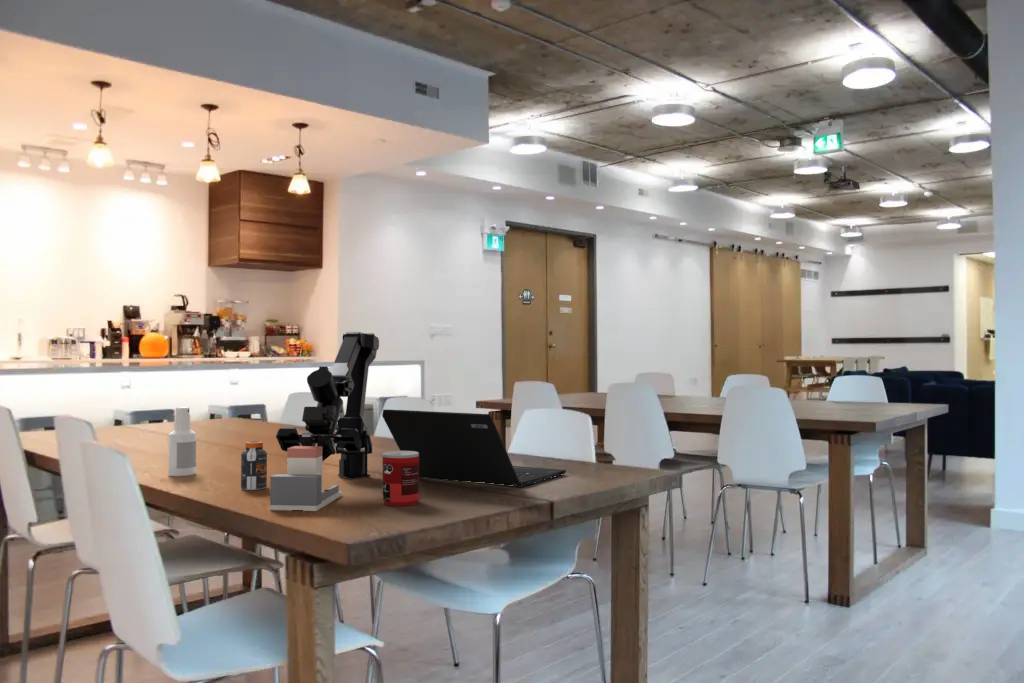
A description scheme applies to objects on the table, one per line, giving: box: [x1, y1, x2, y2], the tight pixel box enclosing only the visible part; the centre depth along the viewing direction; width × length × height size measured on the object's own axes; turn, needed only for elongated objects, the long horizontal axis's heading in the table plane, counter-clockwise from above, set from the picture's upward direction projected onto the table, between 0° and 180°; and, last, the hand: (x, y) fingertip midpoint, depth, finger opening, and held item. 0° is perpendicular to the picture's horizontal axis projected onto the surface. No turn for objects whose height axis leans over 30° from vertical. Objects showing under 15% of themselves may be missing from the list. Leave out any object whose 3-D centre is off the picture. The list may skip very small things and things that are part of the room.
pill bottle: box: [240, 440, 268, 491], centre depth 191 cm, size 6×6×11 cm
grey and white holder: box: [269, 473, 343, 512], centre depth 174 cm, size 17×10×7 cm, turn 175°
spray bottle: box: [167, 406, 197, 478], centre depth 211 cm, size 7×7×18 cm
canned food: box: [382, 450, 420, 507], centre depth 173 cm, size 8×8×11 cm
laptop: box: [381, 409, 567, 487], centre depth 204 cm, size 33×38×19 cm
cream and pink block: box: [286, 445, 323, 492], centre depth 172 cm, size 4×6×11 cm, turn 85°
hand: (310, 469), depth 175 cm, fingers closed
